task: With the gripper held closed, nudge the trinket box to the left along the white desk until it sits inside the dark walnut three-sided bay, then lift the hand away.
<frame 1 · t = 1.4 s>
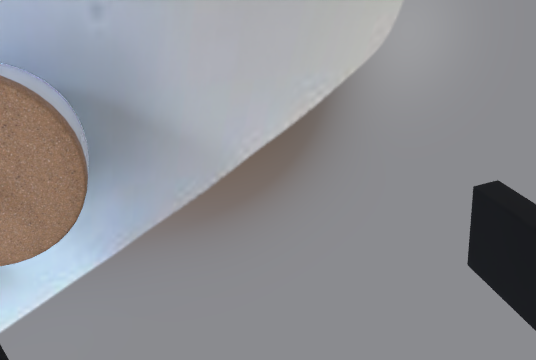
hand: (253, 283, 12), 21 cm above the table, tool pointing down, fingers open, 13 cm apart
trinket box: (11, 127, 29), on the table
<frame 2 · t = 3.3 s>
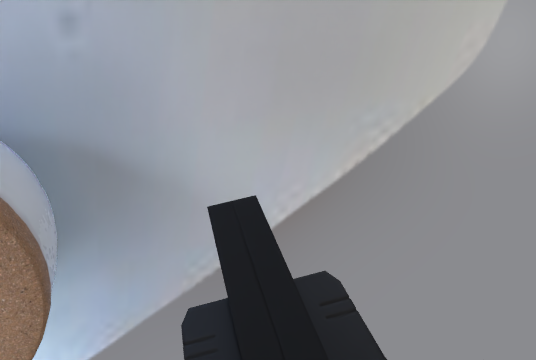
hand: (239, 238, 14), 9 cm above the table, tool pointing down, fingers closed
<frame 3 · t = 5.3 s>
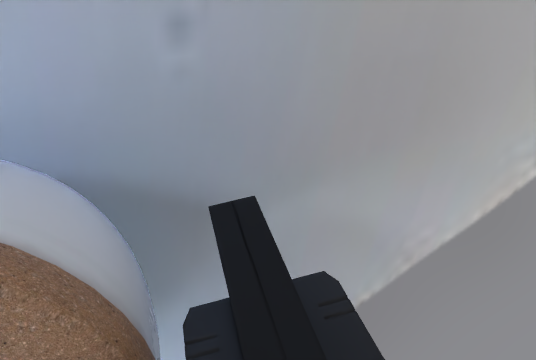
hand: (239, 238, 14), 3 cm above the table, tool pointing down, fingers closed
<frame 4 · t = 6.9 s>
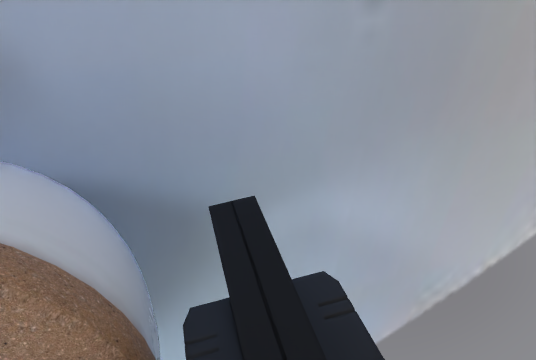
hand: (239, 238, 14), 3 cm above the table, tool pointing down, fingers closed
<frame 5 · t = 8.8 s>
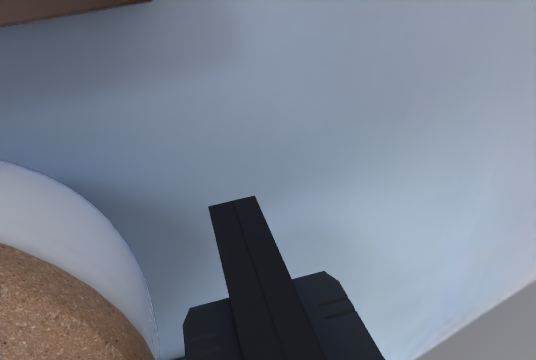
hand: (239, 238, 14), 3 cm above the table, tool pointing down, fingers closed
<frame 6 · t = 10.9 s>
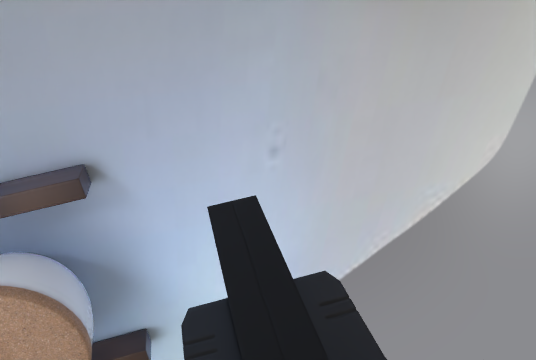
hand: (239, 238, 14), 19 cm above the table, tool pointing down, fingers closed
bay: (28, 285, 35), on the table
trinket box: (29, 285, 35), on the table
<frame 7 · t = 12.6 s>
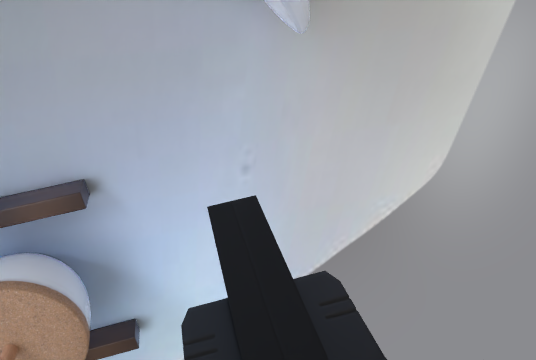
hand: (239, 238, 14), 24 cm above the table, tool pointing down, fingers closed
bay: (34, 281, 40), on the table
trinket box: (35, 281, 41), on the table
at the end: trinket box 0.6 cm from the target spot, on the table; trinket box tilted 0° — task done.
